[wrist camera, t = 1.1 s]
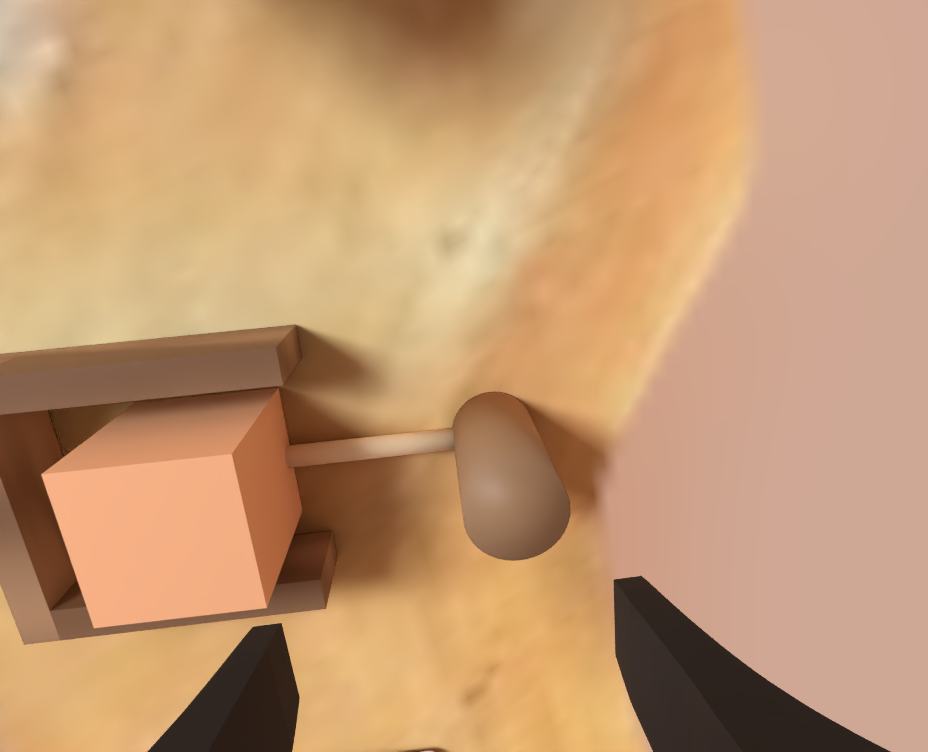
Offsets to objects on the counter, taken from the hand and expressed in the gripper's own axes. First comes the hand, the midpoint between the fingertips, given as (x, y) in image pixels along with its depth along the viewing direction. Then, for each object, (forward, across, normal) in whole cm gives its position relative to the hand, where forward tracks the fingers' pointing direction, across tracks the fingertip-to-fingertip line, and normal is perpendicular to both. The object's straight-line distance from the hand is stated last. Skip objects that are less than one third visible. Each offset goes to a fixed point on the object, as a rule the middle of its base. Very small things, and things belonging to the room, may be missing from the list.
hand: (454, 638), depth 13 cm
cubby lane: (+10, +9, 0) cm, 13 cm away
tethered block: (+10, +4, 0) cm, 11 cm away
